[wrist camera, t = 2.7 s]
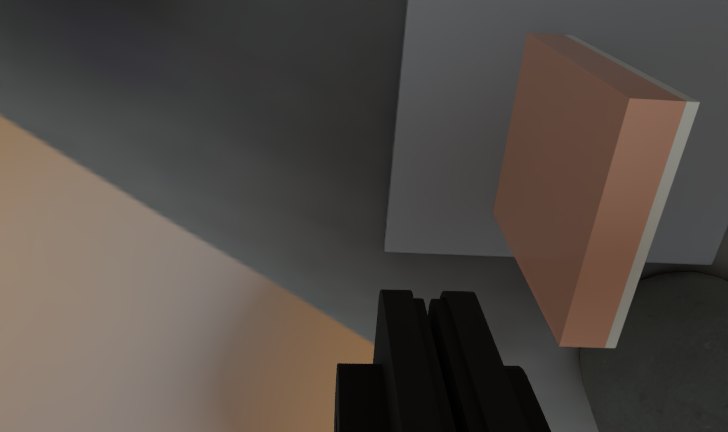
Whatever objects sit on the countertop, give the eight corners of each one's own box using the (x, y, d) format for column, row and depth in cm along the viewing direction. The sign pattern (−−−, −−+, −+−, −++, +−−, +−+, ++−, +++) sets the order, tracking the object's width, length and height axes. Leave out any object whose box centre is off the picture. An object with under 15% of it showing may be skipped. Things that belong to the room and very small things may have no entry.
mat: (813, -13, 20) (824, -11, 19) (705, 258, 25) (711, 264, 24) (410, -41, 19) (411, -40, 18) (383, 245, 24) (384, 251, 24)
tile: (572, 35, 20) (699, 102, 13) (532, 215, 23) (615, 348, 16) (527, 32, 20) (629, 98, 13) (493, 213, 23) (558, 346, 16)
